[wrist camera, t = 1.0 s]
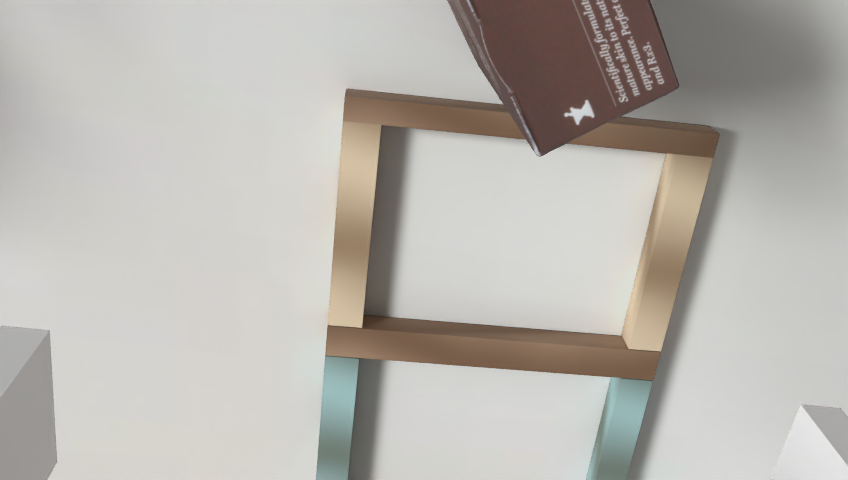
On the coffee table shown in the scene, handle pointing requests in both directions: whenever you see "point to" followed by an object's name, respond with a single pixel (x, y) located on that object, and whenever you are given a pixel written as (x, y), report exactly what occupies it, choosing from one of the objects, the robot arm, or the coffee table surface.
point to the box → (567, 61)
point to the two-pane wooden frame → (496, 345)
